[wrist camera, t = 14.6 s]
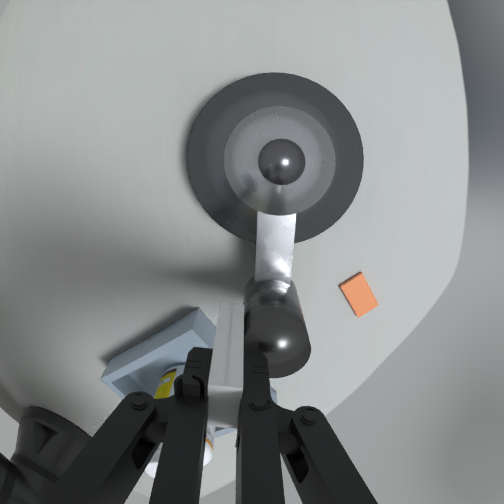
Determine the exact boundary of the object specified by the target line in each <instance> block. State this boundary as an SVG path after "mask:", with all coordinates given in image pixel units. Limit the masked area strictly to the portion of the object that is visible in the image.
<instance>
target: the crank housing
mask: <svg viewBox="0 0 504 504" xmlns="http://www.w3.org/2000/svg"><path fill="white" fill-rule="evenodd" d="M273 106H285V107H291V108H295V109H298V110H301V111H303V112H305V113H307V114H309V115H311V116H312V117H313V118H315V119H316V120H317V121H318V122H319V123H320V124H321V125H322V126H323V127H324V129H325V130H326V131H327V133H328V135H329V137H330V139H331V141H332V144H333V147H334V151H335V172H334V176H333V179H332V182H331V184H330V186H329V188H328V190H327V191H326V193H325V194H324V195H323V197H322V198H321V199H320V200H319V201H318V202H316V203H315V204H314V205H313V206H311V207H309V208H308V209H306V210H304V211H301V212H299V213H296V222H295V236H294V243H298V242H301V241H305V240H307V239H310V238H312V237H315V236H317V235H318V234H320V233H322V232H324V231H325V230H327V229H328V228H329V227H331V226H332V225H333V224H334V223H335V222H336V221H338V220H339V219H340V218H341V217H342V215H343V214H344V213H345V212H346V210H347V209H348V208H349V206H350V205H351V203H352V201H353V200H354V198H355V195H356V193H357V191H358V188H359V185H360V182H361V178H362V172H363V160H364V156H363V146H362V142H361V137H360V134H359V131H358V128H357V126H356V124H355V122H354V120H353V118H352V116H351V114H350V113H349V111H348V110H347V109H346V107H345V106H344V105H343V104H342V102H341V101H340V100H339V99H338V98H337V97H336V96H335V95H333V94H332V93H331V92H330V91H328V90H327V89H326V88H324V87H323V86H321V85H319V84H318V83H316V82H314V81H311V80H309V79H307V78H304V77H301V76H297V75H293V74H287V73H262V74H256V75H252V76H248V77H245V78H243V79H240V80H238V81H236V82H234V83H232V84H230V85H228V86H227V87H225V88H224V89H222V90H221V91H220V92H219V93H217V94H216V95H215V96H214V97H213V98H212V99H211V100H210V101H209V102H208V103H207V105H206V106H205V107H204V108H203V110H202V111H201V113H200V114H199V116H198V118H197V120H196V122H195V124H194V127H193V129H192V132H191V135H190V139H189V143H188V153H187V163H188V172H189V178H190V181H191V184H192V187H193V190H194V192H195V194H196V196H197V199H198V200H199V202H200V203H201V205H202V207H203V208H204V210H205V211H206V212H207V213H208V214H209V215H210V217H211V218H212V219H213V220H214V221H216V222H217V223H218V224H219V225H220V226H221V227H223V228H224V229H226V230H227V231H228V232H230V233H232V234H234V235H236V236H238V237H240V238H242V239H245V240H248V241H251V242H255V243H256V236H257V211H256V210H255V209H253V208H251V207H249V206H248V205H246V204H245V203H244V202H243V201H242V200H241V199H239V197H238V196H237V195H236V194H235V193H234V191H233V190H232V188H231V186H230V184H229V182H228V180H227V177H226V173H225V168H224V152H225V148H226V144H227V141H228V139H229V137H230V135H231V133H232V131H233V130H234V129H235V127H236V126H237V125H238V124H239V123H240V122H241V121H242V120H243V119H244V118H245V117H247V116H248V115H250V114H251V113H253V112H255V111H258V110H260V109H263V108H267V107H273Z"/></svg>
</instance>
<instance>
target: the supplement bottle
mask: <svg viewBox="0 0 504 504" xmlns="http://www.w3.org/2000/svg"><path fill="white" fill-rule="evenodd" d="M184 367H185V365H178V366H174V367H171V368H169V369H168V370H166V371H165V372H164V373H163V375H162V377H161V379H160V382H159V385H158V388H157V391H156V394H155V397H154V399H159V398H167V397H170V396H172V395H174V380H175V379H176V377H178V376H179V375H181V374H183V371H184ZM214 435H215V427H213V426H207V436H206V445H205V453H204V462H203V466H204V465H206V464H207V463H208V462H209V461H210V460H211V458H212V453H213V444H214ZM162 444H163V443H160V445H159V447H158V449H157V450H156V452H155V454H154V455H153V457H152V459H151V460H150V462H149V464H148V465H147V467H146V469H145V471H146V472H147V474H149V475H150V476H151V477H153V478H155V474H156V469H157V465H158V461H159V457H160V452H161V448H162Z"/></svg>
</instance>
